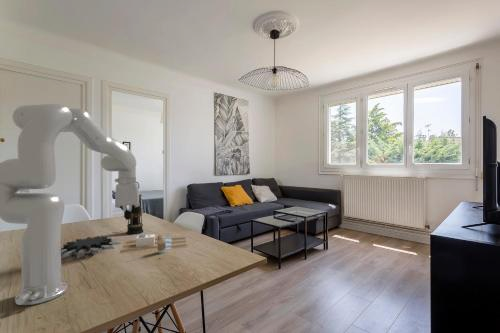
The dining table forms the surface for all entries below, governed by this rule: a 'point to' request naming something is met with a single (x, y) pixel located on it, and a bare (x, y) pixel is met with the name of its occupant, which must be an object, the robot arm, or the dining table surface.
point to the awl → (161, 243)
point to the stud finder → (145, 240)
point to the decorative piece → (86, 246)
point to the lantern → (135, 220)
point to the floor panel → (170, 244)
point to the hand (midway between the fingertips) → (127, 219)
